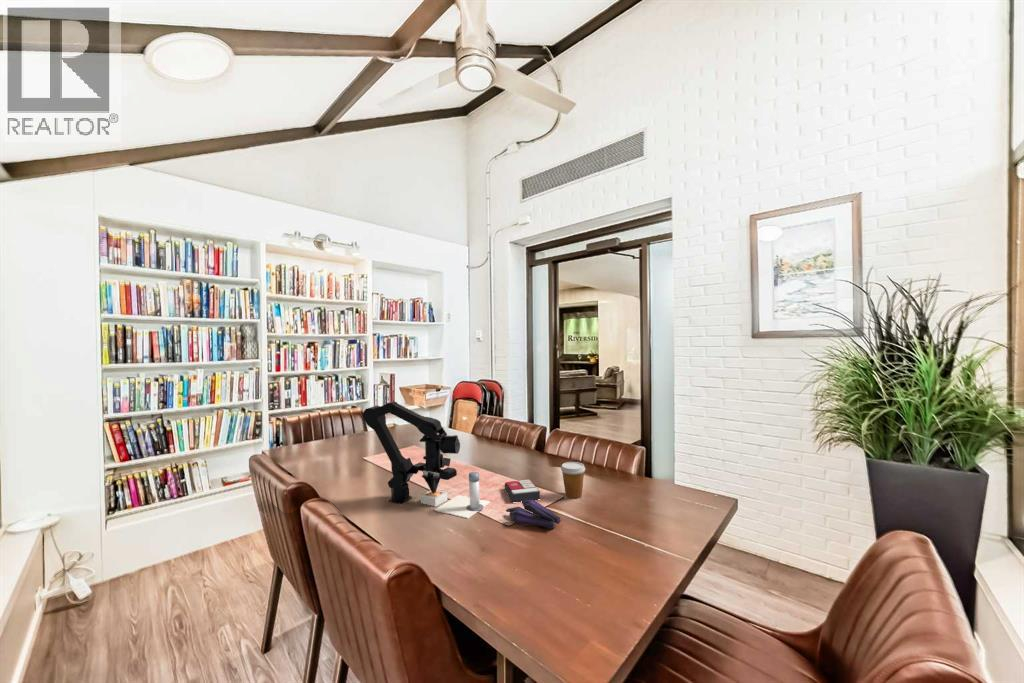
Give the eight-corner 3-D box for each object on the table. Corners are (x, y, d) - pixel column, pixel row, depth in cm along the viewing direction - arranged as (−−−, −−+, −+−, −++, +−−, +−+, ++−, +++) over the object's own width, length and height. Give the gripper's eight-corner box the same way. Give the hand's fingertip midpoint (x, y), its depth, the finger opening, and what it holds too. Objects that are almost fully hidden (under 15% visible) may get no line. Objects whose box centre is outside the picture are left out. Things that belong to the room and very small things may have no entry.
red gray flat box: (529, 478, 171) (540, 489, 156) (530, 488, 171) (540, 500, 156) (504, 481, 168) (512, 492, 154) (504, 491, 168) (512, 504, 153)
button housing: (420, 503, 156) (420, 495, 156) (433, 496, 162) (432, 489, 162) (435, 506, 152) (435, 498, 152) (447, 499, 159) (447, 492, 159)
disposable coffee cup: (590, 497, 157) (589, 467, 157) (569, 502, 153) (568, 470, 153) (577, 489, 166) (577, 460, 165) (557, 493, 162) (556, 463, 162)
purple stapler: (565, 506, 135) (517, 488, 148) (546, 522, 127) (497, 502, 139) (565, 525, 137) (518, 506, 149) (546, 543, 128) (498, 521, 140)
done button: (426, 500, 156) (425, 493, 156) (433, 496, 160) (433, 490, 160) (434, 502, 154) (434, 495, 154) (442, 498, 158) (442, 491, 158)
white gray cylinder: (467, 507, 150) (466, 473, 150) (476, 504, 152) (475, 471, 152) (473, 510, 147) (472, 476, 147) (482, 507, 150) (481, 473, 149)
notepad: (434, 510, 149) (434, 509, 149) (458, 496, 162) (458, 494, 162) (469, 519, 141) (469, 517, 141) (492, 503, 154) (492, 501, 154)
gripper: (464, 450, 159) (465, 489, 160) (428, 444, 169) (429, 482, 169) (447, 458, 150) (448, 499, 150) (409, 452, 159) (410, 491, 159)
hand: (433, 492), depth 157 cm, fingers closed
